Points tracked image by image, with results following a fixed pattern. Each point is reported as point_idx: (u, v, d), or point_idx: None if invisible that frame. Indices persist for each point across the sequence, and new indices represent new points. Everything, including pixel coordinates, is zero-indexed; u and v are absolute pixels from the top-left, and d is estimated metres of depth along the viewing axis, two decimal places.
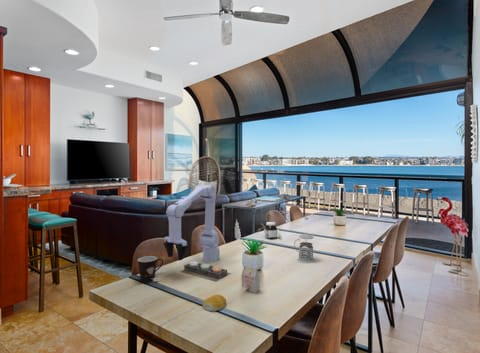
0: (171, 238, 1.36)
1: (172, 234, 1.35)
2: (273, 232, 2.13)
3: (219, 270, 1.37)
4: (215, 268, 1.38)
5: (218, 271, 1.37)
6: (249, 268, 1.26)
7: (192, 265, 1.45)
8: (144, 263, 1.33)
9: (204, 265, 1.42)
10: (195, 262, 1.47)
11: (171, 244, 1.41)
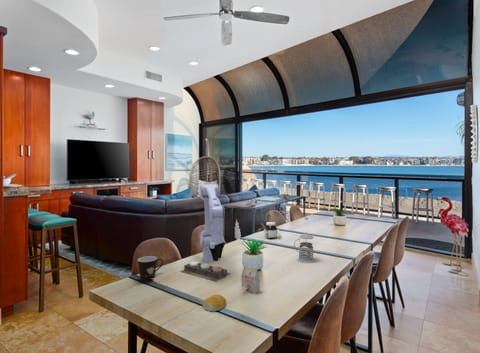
0: (211, 238, 1.38)
1: (211, 234, 1.38)
2: (273, 232, 2.13)
3: (219, 270, 1.37)
4: (215, 268, 1.38)
5: (218, 271, 1.37)
6: (249, 268, 1.26)
7: (192, 265, 1.45)
8: (144, 263, 1.33)
9: (204, 265, 1.42)
10: (195, 262, 1.47)
11: (219, 246, 1.40)
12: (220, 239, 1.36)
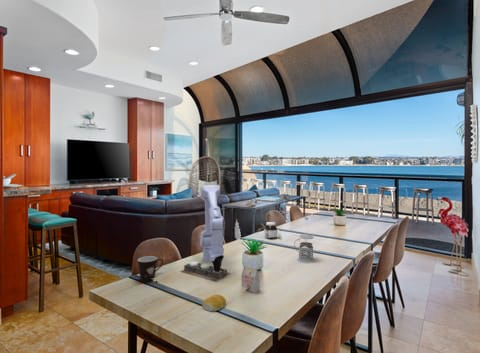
0: (211, 250, 1.38)
1: (211, 246, 1.38)
2: (273, 232, 2.13)
3: None
4: None
5: None
6: (249, 268, 1.26)
7: (192, 265, 1.45)
8: (144, 263, 1.33)
9: (204, 265, 1.42)
10: (195, 262, 1.47)
11: None
12: (220, 251, 1.36)
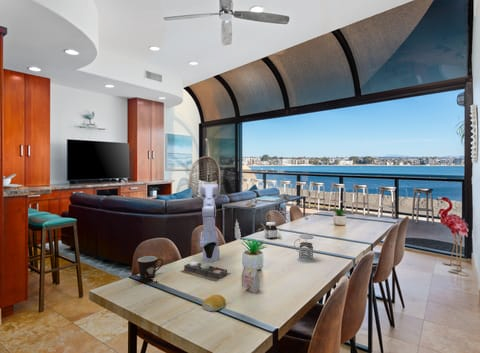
0: None
1: (203, 233, 1.41)
2: (273, 233, 2.13)
3: None
4: (215, 271, 1.38)
5: None
6: (249, 268, 1.26)
7: (192, 265, 1.45)
8: (144, 263, 1.33)
9: (204, 265, 1.42)
10: (195, 262, 1.47)
11: None
12: (211, 238, 1.38)
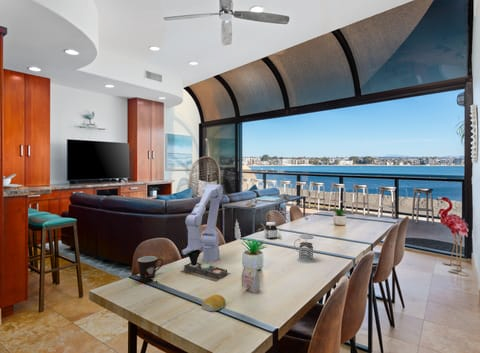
0: None
1: None
2: (273, 232, 2.13)
3: None
4: (215, 271, 1.38)
5: None
6: (249, 268, 1.26)
7: None
8: (144, 263, 1.33)
9: (204, 265, 1.42)
10: None
11: None
12: (194, 246, 1.44)
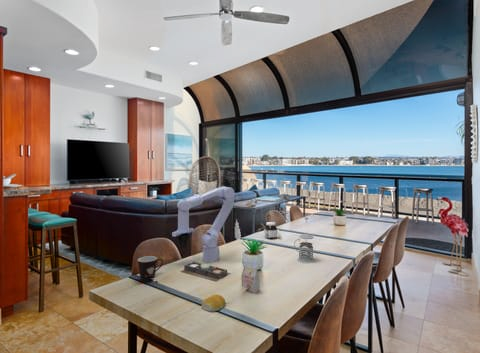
0: None
1: None
2: (273, 232, 2.13)
3: None
4: (215, 271, 1.38)
5: None
6: (249, 268, 1.26)
7: None
8: (144, 263, 1.33)
9: (204, 265, 1.42)
10: (195, 265, 1.47)
11: None
12: (184, 229, 1.53)
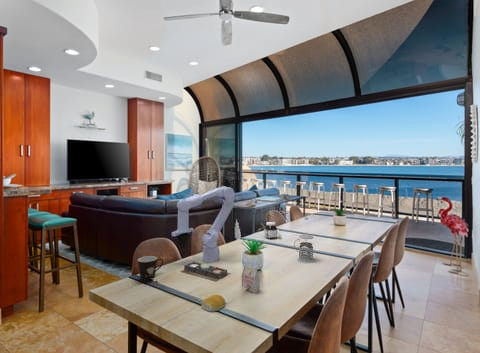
0: None
1: None
2: (273, 232, 2.13)
3: None
4: (215, 271, 1.38)
5: None
6: (249, 268, 1.26)
7: None
8: (144, 263, 1.33)
9: (204, 265, 1.42)
10: (195, 265, 1.47)
11: None
12: (184, 229, 1.53)
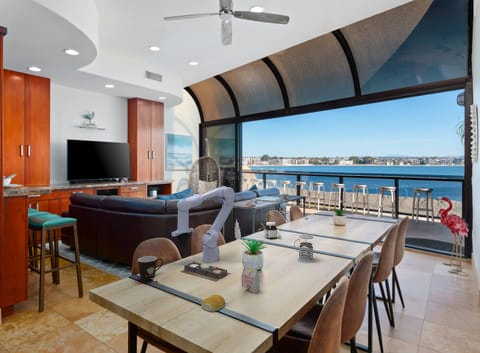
0: None
1: None
2: (273, 232, 2.13)
3: None
4: (215, 271, 1.38)
5: None
6: (249, 268, 1.26)
7: None
8: (144, 263, 1.33)
9: (204, 265, 1.42)
10: (195, 265, 1.47)
11: None
12: (184, 229, 1.53)
